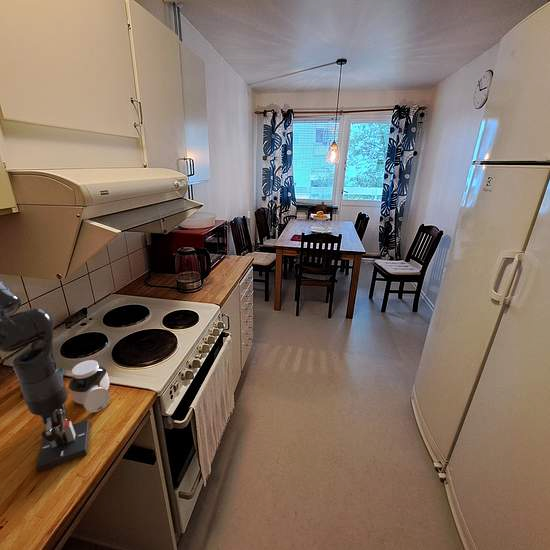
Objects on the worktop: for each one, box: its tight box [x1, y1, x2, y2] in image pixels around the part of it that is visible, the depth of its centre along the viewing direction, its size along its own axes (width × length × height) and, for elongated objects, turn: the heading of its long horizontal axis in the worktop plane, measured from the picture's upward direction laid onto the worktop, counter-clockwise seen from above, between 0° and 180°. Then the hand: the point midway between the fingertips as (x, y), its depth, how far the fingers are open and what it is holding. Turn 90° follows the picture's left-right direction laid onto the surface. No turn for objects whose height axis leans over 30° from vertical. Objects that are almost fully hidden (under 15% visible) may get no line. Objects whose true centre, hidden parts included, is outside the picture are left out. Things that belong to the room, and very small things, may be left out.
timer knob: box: [50, 420, 75, 448], centre depth 73 cm, size 5×2×5 cm, turn 118°
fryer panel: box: [35, 419, 91, 473], centre depth 75 cm, size 10×10×3 cm
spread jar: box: [68, 359, 111, 413], centre depth 88 cm, size 12×11×12 cm
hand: (63, 439), depth 74 cm, fingers closed, pressing on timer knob
